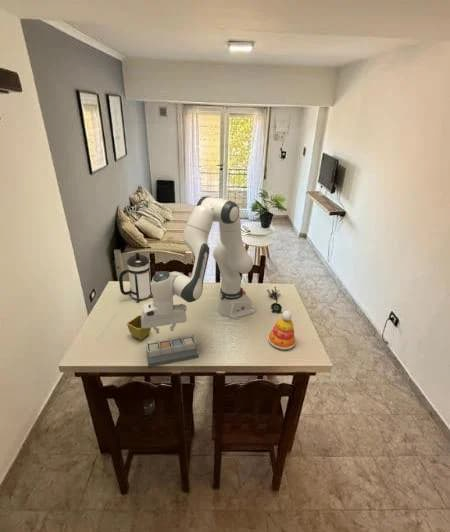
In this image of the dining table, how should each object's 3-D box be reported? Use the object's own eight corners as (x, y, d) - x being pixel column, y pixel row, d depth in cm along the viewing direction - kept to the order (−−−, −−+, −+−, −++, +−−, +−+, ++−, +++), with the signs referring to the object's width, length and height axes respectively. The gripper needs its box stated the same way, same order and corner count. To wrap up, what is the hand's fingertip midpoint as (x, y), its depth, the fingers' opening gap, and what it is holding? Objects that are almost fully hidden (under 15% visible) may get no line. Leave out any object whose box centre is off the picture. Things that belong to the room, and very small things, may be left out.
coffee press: (133, 288, 197) (128, 246, 184) (157, 291, 196) (154, 248, 182) (121, 303, 182) (115, 258, 168) (147, 306, 180) (143, 261, 167)
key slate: (180, 345, 150) (180, 339, 148) (182, 350, 146) (182, 345, 145) (172, 346, 149) (172, 341, 147) (173, 352, 145) (173, 346, 144)
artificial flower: (267, 314, 181) (264, 299, 178) (269, 298, 202) (267, 284, 199) (282, 313, 179) (280, 297, 176) (283, 297, 199) (280, 283, 197)
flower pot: (140, 344, 152) (138, 329, 148) (128, 337, 156) (126, 323, 152) (153, 334, 158) (151, 320, 154) (140, 328, 162) (139, 314, 158)
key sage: (158, 349, 147) (157, 343, 145) (159, 355, 143) (158, 349, 142) (149, 350, 145) (149, 345, 144) (150, 356, 142) (149, 350, 140)
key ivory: (191, 343, 151) (191, 337, 150) (193, 348, 148) (193, 343, 146) (183, 344, 150) (183, 339, 149) (185, 350, 147) (185, 344, 145)
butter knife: (94, 339, 153) (99, 340, 153) (115, 312, 174) (120, 312, 174) (94, 340, 153) (100, 341, 153) (115, 312, 174) (120, 313, 174)
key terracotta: (169, 347, 148) (169, 341, 147) (170, 352, 145) (170, 347, 143) (161, 348, 147) (160, 343, 145) (162, 354, 144) (161, 348, 142)
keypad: (192, 338, 157) (191, 330, 154) (198, 357, 145) (198, 348, 142) (146, 346, 150) (145, 337, 147) (148, 367, 138) (147, 358, 136)
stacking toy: (262, 342, 157) (265, 310, 148) (277, 329, 167) (281, 299, 158) (285, 355, 149) (291, 323, 140) (300, 341, 158) (306, 310, 150)
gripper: (185, 299, 140) (185, 323, 146) (139, 305, 134) (141, 330, 140) (187, 307, 135) (188, 332, 141) (140, 314, 129) (142, 339, 135)
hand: (164, 331), depth 141 cm, fingers open, 5 cm apart
